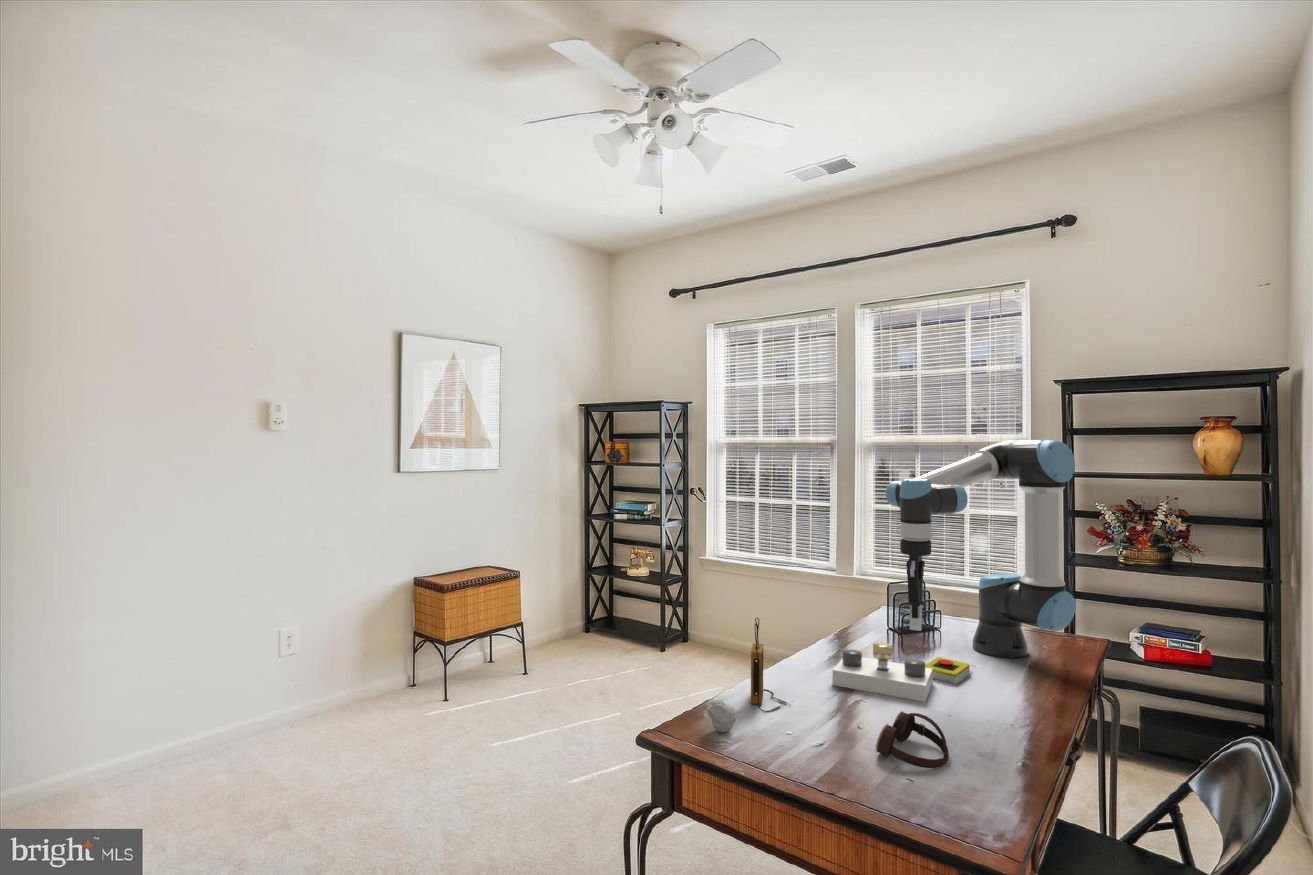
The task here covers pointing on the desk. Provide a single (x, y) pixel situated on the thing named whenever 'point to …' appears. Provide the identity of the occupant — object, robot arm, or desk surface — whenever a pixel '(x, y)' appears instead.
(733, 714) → the crumpled paper ball
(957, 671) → the emergency button
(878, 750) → the goggles
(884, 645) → the knob middle
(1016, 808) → the desk surface
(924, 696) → the mount plate
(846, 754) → the desk surface
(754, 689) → the multimeter
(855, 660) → the knob far
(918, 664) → the knob near
